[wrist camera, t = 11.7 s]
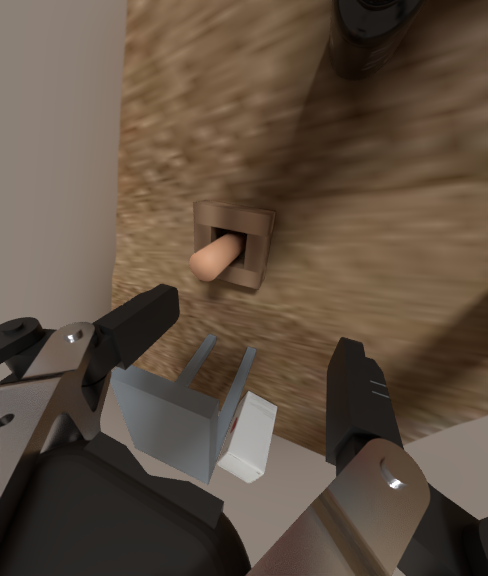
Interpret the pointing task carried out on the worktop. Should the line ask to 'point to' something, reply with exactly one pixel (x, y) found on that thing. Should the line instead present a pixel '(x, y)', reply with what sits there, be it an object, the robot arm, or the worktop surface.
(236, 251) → the peg
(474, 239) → the worktop surface
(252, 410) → the supplement box
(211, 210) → the socket block
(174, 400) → the grey u-shaped bracket
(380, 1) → the supplement bottle
